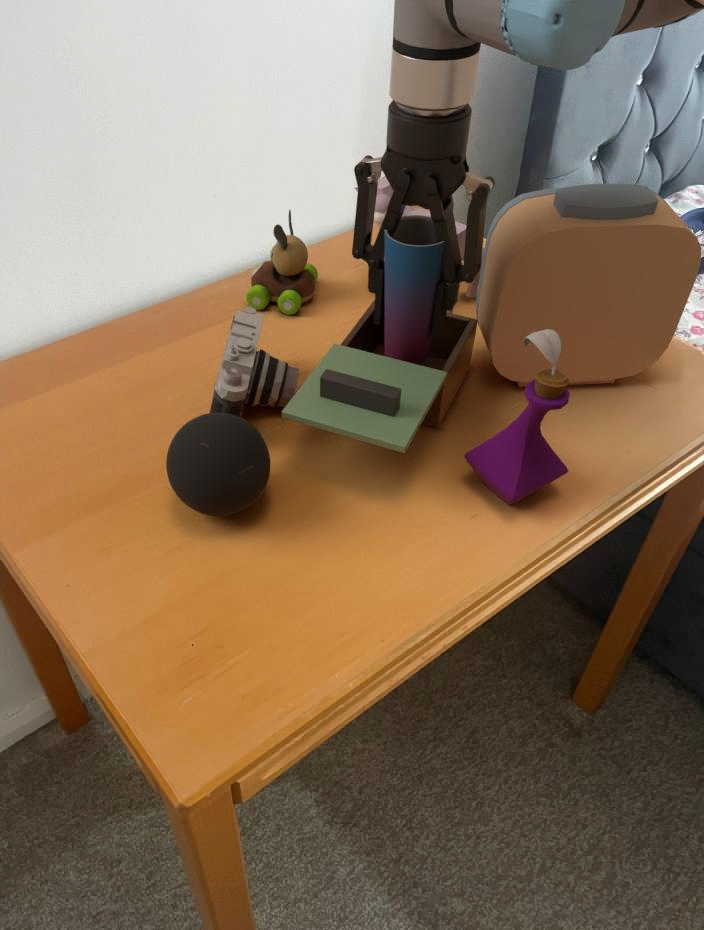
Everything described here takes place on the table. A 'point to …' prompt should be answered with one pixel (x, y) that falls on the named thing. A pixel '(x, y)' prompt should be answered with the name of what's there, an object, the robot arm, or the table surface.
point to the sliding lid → (366, 397)
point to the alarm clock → (585, 281)
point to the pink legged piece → (381, 208)
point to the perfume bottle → (525, 434)
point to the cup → (411, 287)
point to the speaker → (218, 464)
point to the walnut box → (443, 355)
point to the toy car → (283, 275)
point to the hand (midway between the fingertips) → (409, 324)
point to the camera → (250, 370)
